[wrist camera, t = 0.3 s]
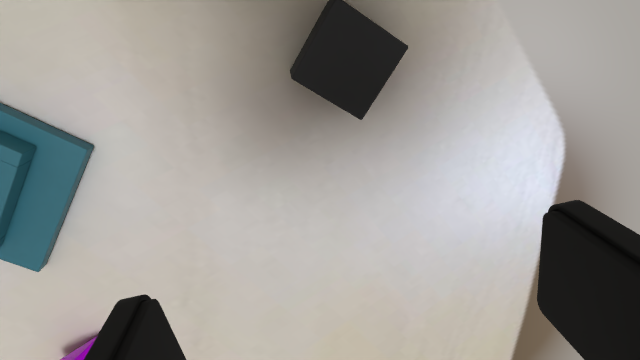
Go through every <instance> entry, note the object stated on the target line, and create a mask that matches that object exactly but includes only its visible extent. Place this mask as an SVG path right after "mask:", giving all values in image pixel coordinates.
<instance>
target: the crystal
mask: <svg viewBox="0 0 640 360" xmlns="http://www.w3.org/2000/svg"><path fill="white" fill-rule="evenodd" d="M96 338H97V336H96V337H95V338H93V339H91V340H90V341H88V342H87V343H85V344H84V345H82V346H81V347H79V348H77V349H76V350H74V351H73V352H71V353H70V354H68V355H67V356H65V357H63V358H62V359H60V360H84V358H85V356H86V355H87V353H88V351H89V350H90V348H91V346H92V344H93V343H94V341H95V339H96Z"/></svg>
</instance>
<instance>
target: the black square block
mask: <svg viewBox="0 0 640 360" xmlns="http://www.w3.org/2000/svg"><path fill="white" fill-rule="evenodd" d="M407 49H408V46H407V45H406V44H404V43H403V42H401V41H400V40H399V39H397V38H396V37H394V36H393V35H391V34H390V33H389V32H387V31H386V30H384V29H383V28H381V27H380V26H379V25H377V24H376V23H374V22H373V21H371V20H370V19H369V18H367V17H366V16H364V15H363V14H361V13H360V12H358V11H357V10H356V9H354V8H353V7H351V6H350V5H348V4H347V3H346V2H344V1H343V0H329V1H328V2H327V4H326V6H325V8H324V10H323V11H322V13H321V15H320V17H319V19H318V20H317V22H316V24H315V26H314V28H313V29H312V31H311V33H310V35H309V37H308V39H307V40H306V42H305V44H304V46H303V48H302V49H301V51H300V53H299V55H298V57H297V58H296V60H295V62H294V64H293V66H292V68H291V69H290V73H291V78H292V79H293V80H295V81H296V82H298V83H300V84H301V85H303V86H305V87H306V88H308V89H310V90H311V91H313V92H315V93H316V94H318V95H320V96H321V97H323V98H325V99H327V100H328V101H330V102H332V103H333V104H335V105H337V106H338V107H340V108H342V109H343V110H345V111H347V112H348V113H350V114H352V115H353V116H355V117H357V118H358V119H360V120H362V119H363V117H364V116H365V114H366V113H367V111H368V110H369V108H370V106H371V105H372V103H373V102H374V100H375V99H376V97H377V96H378V94H379V92H380V91H381V89H382V88H383V86H384V85H385V83H386V82H387V80H388V78H389V77H390V75H391V74H392V72H393V71H394V69H395V68H396V66H397V64H398V63H399V61H400V60H401V58H402V57H403V55H404V54H405V52H406V50H407Z"/></svg>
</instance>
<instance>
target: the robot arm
mask: <svg viewBox="0 0 640 360" xmlns="http://www.w3.org/2000/svg"><path fill="white" fill-rule="evenodd" d="M537 301H538V305H539V308H540V310H541V311H542V313H543V314H544V316H546V318H547V319H548V320H549V321H550V322H551V323H552V324H553V325H554V327H555V328H556V329H557V330H558V331H559V332H560V333H561V334H562V335H563V336H564V337H565V339H566V340H567V341H568V342H569V343H570V344H571V345H572V346H573V348H574V349H575V350H576V351H577V352H578V353H579V354H580V355H581V356H582V357H583V358H584V360H640V235H639V234H637V233H635V232H634V231H632V230H630V229H629V228H627V227H625V226H623V225H622V224H620V223H618V222H617V221H615V220H613V219H612V218H610V217H608V216H607V215H605V214H603V213H601V212H600V211H598V210H596V209H595V208H593V207H591V206H590V205H588V204H586V203H584V202H582V201H580V200H574V201H569V202H565V203H560V204H555V205H552V206H551V207H550V208H549V210H548V213H546V214H545V215H544V216H543V224H542V238H541V251H540V265H539V280H538V293H537ZM84 360H186V358H185V356H184V354H183V352H182V350H181V348H180V346H179V343H178V341H177V339H176V337H175V335H174V333H173V331H172V329H171V327H170V325H169V323H168V320H167V318H166V316H165V314H164V312H163V310H162V308H161V306H160V304H159V302H158V301H157V300H156V299H151V298H150V297H149V296H148V295H140V296H135V297H131V298H126V299H122V300H120V301H118V302H117V303H116V305H115V306H114V308H113V310H112V312H111V313H110V315H109V317H108V319H107V320H106V322H105V324H104V325H103V327H102V329H101V331H100V332H99V334H98V336H97V338H96V339H95V341H94V343H93V344H92V346H91V348H90V350H89V351H88V353H87V355H86V356H85V358H84Z"/></svg>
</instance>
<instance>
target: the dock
mask: <svg viewBox="0 0 640 360" xmlns="http://www.w3.org/2000/svg"><path fill="white" fill-rule="evenodd" d="M93 147H94V146H93V145H91V144H89V143H87V142H85V141H83V140H80V139H78V138H76V137H74V136H72V135H69V134H67V133H65V132H63V131H61V130H58V129H56V128H54V127H52V126H50V125H48V124H45V123H43V122H41V121H39V120H37V119H34V118H32V117H30V116H28V115H26V114H23V113H21V112H19V111H17V110H15V109H12V108H10V107H8V106H6V105H4V104H2V103H0V259H1V260H4V261H7V262H10V263H13V264H16V265H19V266H22V267H25V268H28V269H30V270H33V271H36V272H39V271H40V270H41V269H42V268H43V267H44V266H45V265H46V263H47V261H48V258H49V256H50V253H51V251H52V248H53V246H54V243H55V241H56V238H57V236H58V233H59V231H60V229H61V226H62V224H63V221H64V219H65V216H66V214H67V211H68V209H69V206H70V204H71V201H72V199H73V196H74V194H75V191H76V189H77V187H78V184H79V182H80V179H81V177H82V174H83V172H84V169H85V167H86V164H87V162H88V159H89V157H90V154H91V152H92V149H93Z"/></svg>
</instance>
